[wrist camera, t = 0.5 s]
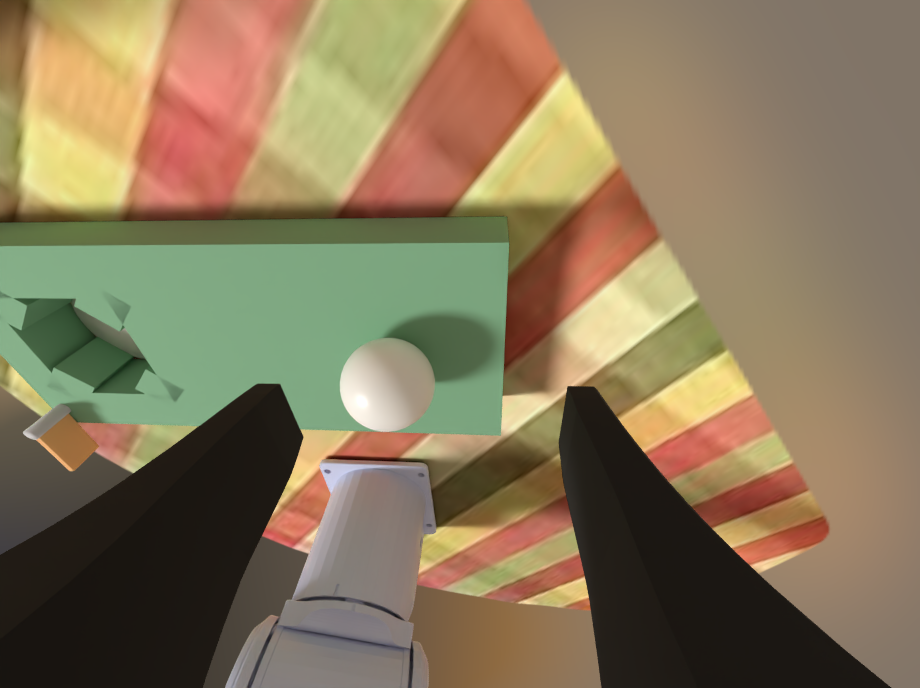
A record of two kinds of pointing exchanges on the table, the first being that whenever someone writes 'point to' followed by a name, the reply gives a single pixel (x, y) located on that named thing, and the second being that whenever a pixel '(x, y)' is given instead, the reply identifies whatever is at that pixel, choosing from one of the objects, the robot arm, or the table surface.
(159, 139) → the table surface
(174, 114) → the table surface
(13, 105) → the table surface
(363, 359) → the ball
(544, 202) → the table surface
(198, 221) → the green board with hole
